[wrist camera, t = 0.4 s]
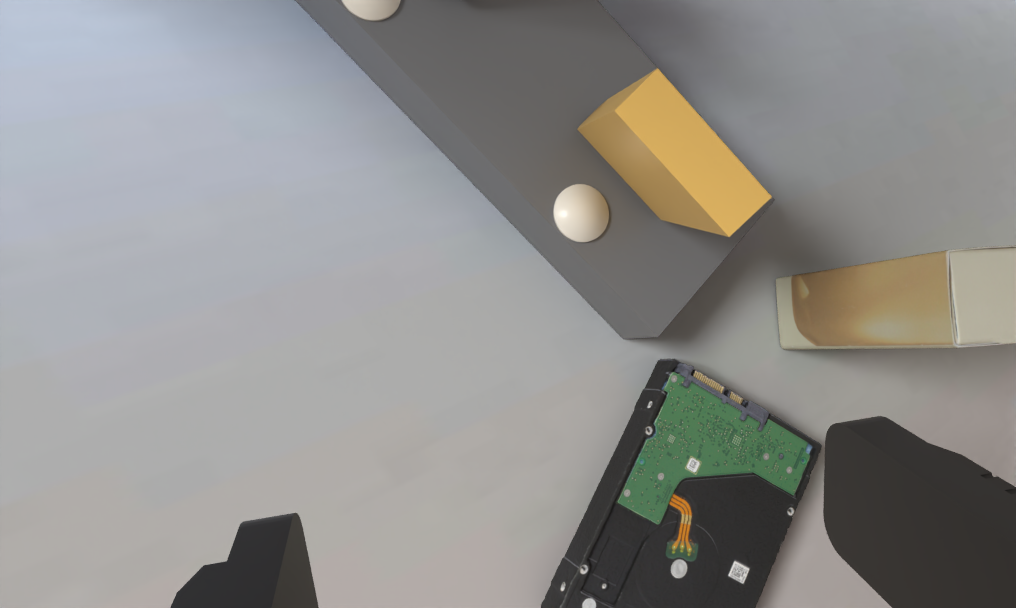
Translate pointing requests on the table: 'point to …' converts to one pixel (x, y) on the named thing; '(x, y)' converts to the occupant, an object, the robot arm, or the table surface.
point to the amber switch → (673, 158)
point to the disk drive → (687, 502)
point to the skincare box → (903, 303)
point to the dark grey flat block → (535, 136)
